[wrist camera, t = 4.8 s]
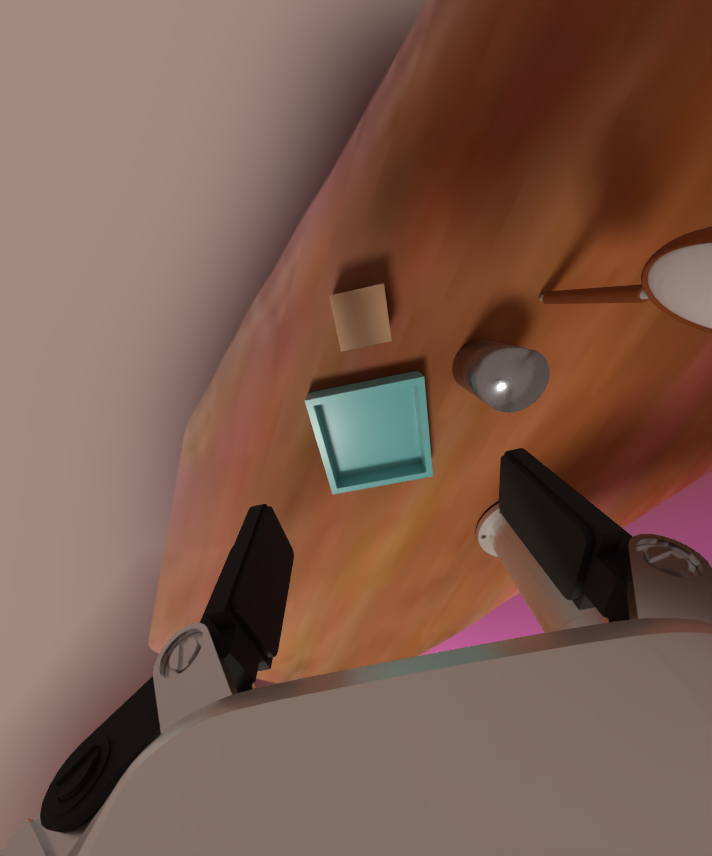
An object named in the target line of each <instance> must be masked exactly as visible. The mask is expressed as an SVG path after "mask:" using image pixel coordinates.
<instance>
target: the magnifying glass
mask: <svg viewBox="0 0 712 856" xmlns="http://www.w3.org/2000/svg"><path fill="white" fill-rule="evenodd" d="M649 299H650V300H651V301H652V302H653V303H654V304H655V305H656V306H657V307H658V308H659V309H661V310H662V311H663V312H665V313H666V314H668V315H670V316H671V317H673V318H675V319H677V320H679V321H681V322H683V323H685V324H687V325H690V326H692V327H695V328H698V329H700V330H704V331H707V332H710V333H712V227H708V228H704V229H700V230H696V231H693V232H690V233H688V234H685V235H683V236H680V237H678V238H676V239H674V240H672V241H670V242H669V243H667V244H666V245H664V246H663V247H661V248H660V249H659V250H658V251H657V252H656V253H654V254H653V255H652V257H651V258H650V259H649V260H648V262H647V263H646V264H645V266H644V268H643V271H642V275H641V285H628V286H615V287H602V288H588V289H575V290H562V291H549V292H546V293H545V294H543V295H541V296H540V301H541V302H543V303H544V304H577V303H642V302H646V301H647V300H649Z"/></svg>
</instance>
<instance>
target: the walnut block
mask: <svg viewBox="0 0 712 856" xmlns="http://www.w3.org/2000/svg"><path fill="white" fill-rule="evenodd" d="M329 298H330V303H331V307H332V312H333V316H334V321H335V326H336V330H337V335H338V339H339V344H340V349H341V352H342V351H347V350H352V349H356V348H361V347H366V346H371V345H375V344H380V343H385V342H389V341H392V340H391V333H390V325H389V318H388V311H387V303H386V296H385V288H384V283H383V284H378V285H374V286H369V287H365V288H360V289H356V290H351V291H347V292H343V293H338V294H334V295H329Z"/></svg>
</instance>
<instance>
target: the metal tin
mask: <svg viewBox="0 0 712 856" xmlns="http://www.w3.org/2000/svg"><path fill="white" fill-rule="evenodd" d="M452 372H453V376H454V379H455V380H456V382H457V383H458V384H459V385H460V386H462V387H463V388H465V389H466V390H468V391H469V392H471V393H472V394H474V395H475V396H476V397H478V398H479V399H481V400H482V401H484V402H485V403H487V404H488V405H490V406H491V407H492V408H494V409H496V410H498V411H501V412H516V411H519V410H522V409H524V408H526V407H528V406H530V405H531V404H532V403H534V402H535V401H536V400H537V399H538V398H539V397H540V396H541V394H542V393H543V391H544V390H545V388H546V386H547V383H548V380H549V365H548V362H547V360H546V359H545V357H544V356H543V355H542V354H540V353H539V352H537V351H534V350H531V349H527V348H522V347H518V346H514V345H509V344H505V343H501V342H496V341H492V340H488V339H477V340H473V341H471V342H469V343H467V344H466V345H464V346H463V347H462V348H461V349H460V350H459V352H458V353H457V355H456V356H455V359H454V361H453V366H452Z"/></svg>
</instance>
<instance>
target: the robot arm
mask: <svg viewBox="0 0 712 856" xmlns="http://www.w3.org/2000/svg"><path fill="white" fill-rule="evenodd" d="M476 537H477V540H478V542H479V544H480V546H481V547H482V549H483V550H484V551H485V552H487V553H488V554H490V555H492V556H496V557H499V559H500V561H501V562H502V564H503V566H504V567H505V569H506V570H507V572H508V574H509V575H510V577H511V579H512V580H513V582H514V584H515V585H516V587H517V589H518V590H519V592H520V593H521V595H522V597H523V598H524V600H525V602H526V603H527V605H528V607H529V608H530V610H531V611H532V613H533V615H534V616H535V618H536V620H537V621H538V623H539V625H540V626H541V628H542V630H543V631H544V633H542V634H537V635H531V636H526V637H520V638H515V639H509V640H503V641H498V642H493V643H487V644H482V645H476V646H471V647H466V648H460V649H455V650H449V651H444V652H438V653H433V654H428V655H422V656H417V657H412V658H406V659H401V660H396V661H390V662H385V663H380V664H374V665H369V666H364V667H359V668H354V669H349V670H343V671H338V672H333V673H328V674H323V675H317V676H312V677H307V678H302V679H297V680H293V681H288V682H283V683H279V684H274V685H270V686H265V687H261V688H256V687H255V684H254V682H255V680H256V676H257V671H262V670H267V669H271V664H272V659H273V657H275V656H276V655H277V652H278V648H279V642H280V636H281V630H282V624H283V618H284V613H285V607H286V601H287V595H288V589H289V583H290V577H291V571H292V565H293V559H294V553H293V549H292V547H291V545H290V543H289V541H288V539H287V537H286V535H285V533H284V531H283V529H282V527H281V525H280V523H279V521H278V519H277V517H276V515H275V513H274V511H273V509H272V507H268V506H267V505H266V504H262V505H257V506H252V507H250V509H249V511H248V513H247V515H246V518H245V520H244V522H243V525H242V527H241V530H240V532H239V534H238V537H237V539H236V542H235V544H234V546H233V547H232V549H231V551H230V553H229V555H228V557H227V560H226V562H225V565H224V567H223V569H222V572H221V574H220V576H219V579H218V581H217V583H216V586H215V588H214V590H213V593H212V595H211V598H210V600H209V602H208V605H207V607H206V609H205V612H204V614H203V616H202V619H201V621H200V623H193V624H190V625H188V626H186V627H184V628H183V629H181V630H180V631H178V632H177V633H176V634H175V635H174V636H173V637H172V638H171V639H170V640H169V641H168V642H167V643H166V645H165V646H164V647H163V648H162V650H161V652H160V654H159V656H158V657H157V659H156V663H155V665H154V668H153V677H152V678H150V680H148V681H147V682H146V683H145V684H144V685H143V686H142V687H141V688H140V689H139V690H138V691H137V692H136V693H135V694H134V695H132V696H131V697H130V698H129V699H128V700H127V701H126V702H125V703H124V704H123V705H122V706H121V707H120V708H119V709H117V710H116V711H115V712H114V713H113V714H112V715H111V716H110V717H109V718H108V719H107V720H106V721H105V722H104V723H103V724H101V726H99V727H98V728H97V729H96V730H95V731H94V732H93V733H92V734H91V735H90V736H89V737H88V738H87V739H86V740H84V742H82V743H81V744H80V745H79V746H78V748H77V749H76V750H75V751H74V752H73V753H72V754H71V755H70V756H69V757H68V759H67V760H66V761H65V763H64V764H63V765H62V767H61V768H60V769H59V771H58V772H57V774H56V776H55V778H54V779H53V781H52V783H51V784H50V786H49V789H48V791H47V793H46V796H45V798H44V800H43V803H42V808H41V811H40V812H39V814H38V815H37V816H36V817H35V819H34V820H32V819H27V820H26V821H25V822H24V824H23V825H22V826H21V827H20V829H19V830H18V831H17V832H16V833H15V834H14V836H13V837H12V839H10V841H9V842H8V843H7V844H6V845H5V847H4V848H3V849H2V850H1V851H0V856H712V567H711V566H710V564H709V563H708V561H707V560H706V559H705V558H704V557H703V556H701V555H700V554H699V553H698V552H696V551H695V550H693V549H692V548H690V547H688V546H687V545H685V544H683V543H681V542H678V541H676V540H674V539H671V538H668V537H665V536H660V535H655V534H639V535H636V536H633V537H632V536H631V535H630V534H629V533H627V532H626V531H625V530H624V529H622V528H621V527H620V526H619V525H618V524H616V523H615V522H614V521H613V520H611V519H610V518H609V517H608V516H606V515H605V514H604V513H603V512H601V511H600V510H599V509H598V508H597V507H595V506H594V505H593V504H592V503H590V502H589V501H588V500H587V499H585V498H584V497H583V496H582V495H580V494H579V493H578V492H577V491H576V490H574V489H573V488H572V487H571V486H569V485H568V484H567V483H566V482H564V481H563V480H562V479H560V478H559V477H558V476H557V475H555V474H554V473H553V472H552V471H551V470H549V469H548V468H547V467H546V466H544V465H543V464H542V463H541V462H539V461H538V460H537V459H536V458H535V457H533V456H532V455H531V454H530V453H528V452H527V451H526V450H525V449H523V448H519V449H515V450H510V451H506V452H505V454H504V456H502V457H501V465H500V489H499V503H498V504H497V505H495V506H494V507H492V508H491V509H490V510H488V511H487V512H486V513H485V514H484V516H483V517H482V518H481V520H480V521H479V523H478V526H477V529H476Z"/></svg>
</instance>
